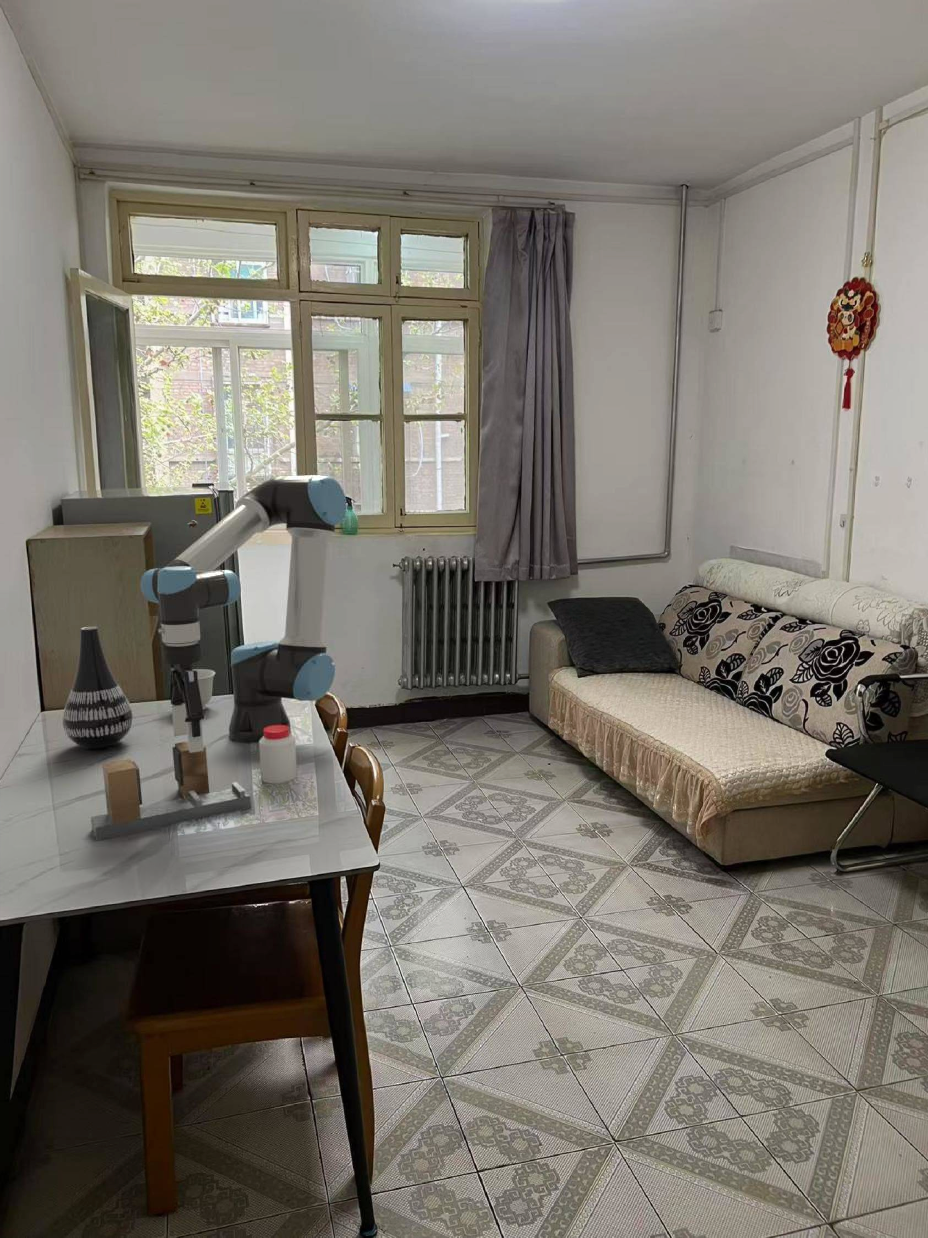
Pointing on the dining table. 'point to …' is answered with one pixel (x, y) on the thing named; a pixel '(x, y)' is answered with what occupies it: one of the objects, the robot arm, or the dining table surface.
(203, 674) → the teacup
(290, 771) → the pill bottle
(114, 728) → the vase
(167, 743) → the dining table surface
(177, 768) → the brown wooden block
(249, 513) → the robot arm
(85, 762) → the dining table surface
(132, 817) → the rail
